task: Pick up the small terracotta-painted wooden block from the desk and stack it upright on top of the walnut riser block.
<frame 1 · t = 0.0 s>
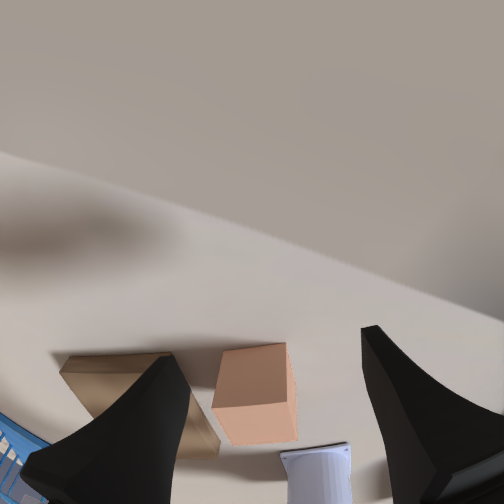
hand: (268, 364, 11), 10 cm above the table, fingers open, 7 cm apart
file sorter: (43, 456, 43), on the table
walnut riser: (145, 404, 28), on the table
terracotta block: (261, 368, 25), on the table
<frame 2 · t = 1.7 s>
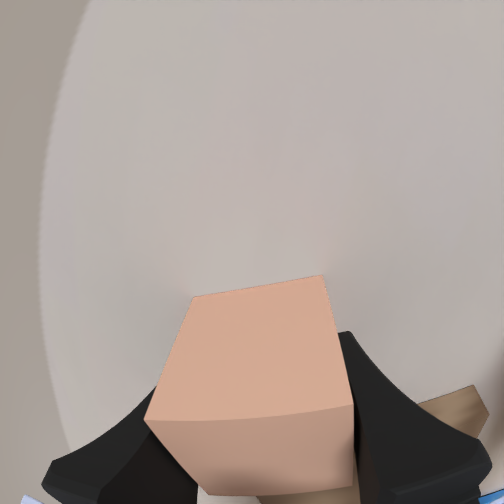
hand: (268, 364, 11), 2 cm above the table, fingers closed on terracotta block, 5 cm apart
walnut riser: (362, 462, 17), on the table
terracotta block: (269, 337, 13), on the table, touching gripper
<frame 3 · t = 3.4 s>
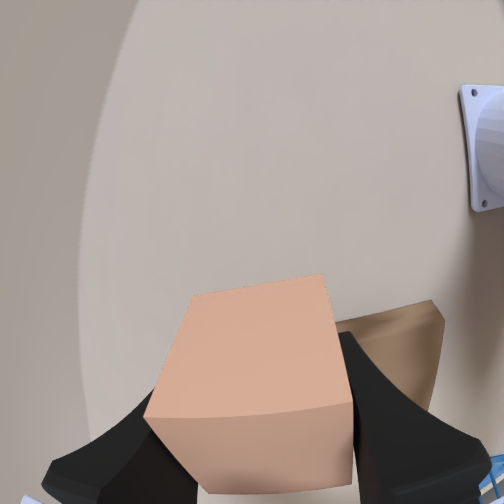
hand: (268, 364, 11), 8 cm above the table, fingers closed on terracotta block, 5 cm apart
file sorter: (455, 481, 34), on the table
walnut riser: (343, 380, 22), on the table
terracotta block: (269, 336, 13), point 7 cm above the table, touching gripper
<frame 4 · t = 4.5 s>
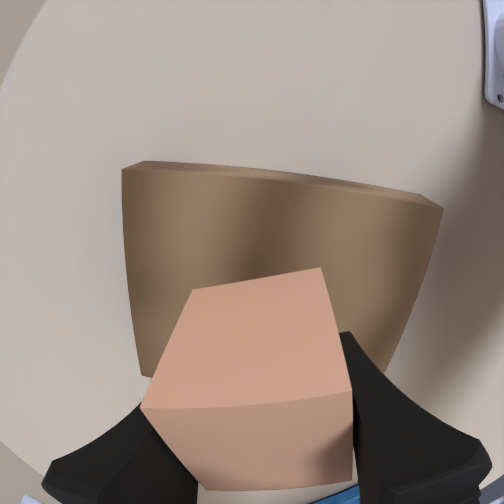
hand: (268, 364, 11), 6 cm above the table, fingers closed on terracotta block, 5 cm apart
walnut riser: (271, 285, 17), on the table
terracotta block: (268, 331, 13), point 4 cm above the table, touching gripper
when the fingers open (5 cm above the table, at t = 5.1 s): terracotta block drops 1 cm, resting on walnut riser.
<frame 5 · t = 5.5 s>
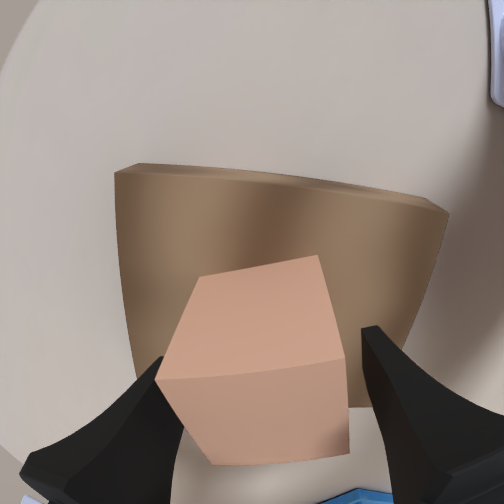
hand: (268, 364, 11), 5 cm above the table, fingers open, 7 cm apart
walnut riser: (271, 291, 16), on the table
terracotta block: (269, 316, 14), point 2 cm above the table, touching walnut riser
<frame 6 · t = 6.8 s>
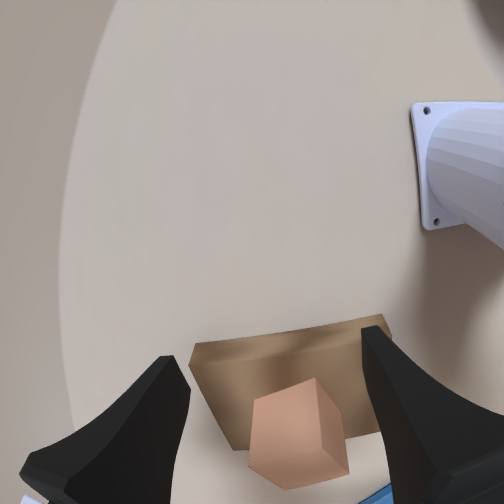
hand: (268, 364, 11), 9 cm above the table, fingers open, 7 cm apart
file sorter: (423, 489, 36), on the table
walnut riser: (298, 385, 24), on the table
terracotta block: (298, 406, 22), point 2 cm above the table, touching walnut riser
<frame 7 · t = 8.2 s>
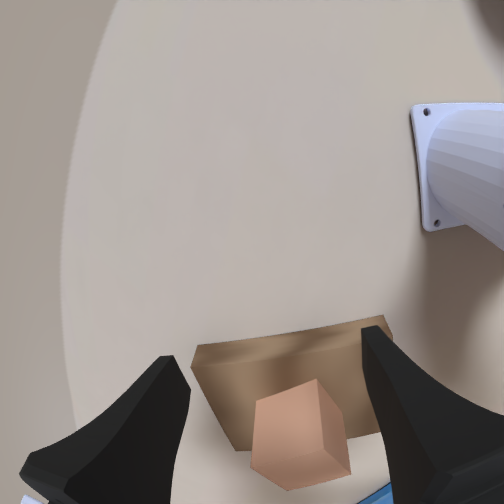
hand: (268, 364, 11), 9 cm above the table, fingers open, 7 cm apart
file sorter: (422, 489, 36), on the table
walnut riser: (300, 386, 24), on the table
terracotta block: (300, 407, 22), point 2 cm above the table, touching walnut riser
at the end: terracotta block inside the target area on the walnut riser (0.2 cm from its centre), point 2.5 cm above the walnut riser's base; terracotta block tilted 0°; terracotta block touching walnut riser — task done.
